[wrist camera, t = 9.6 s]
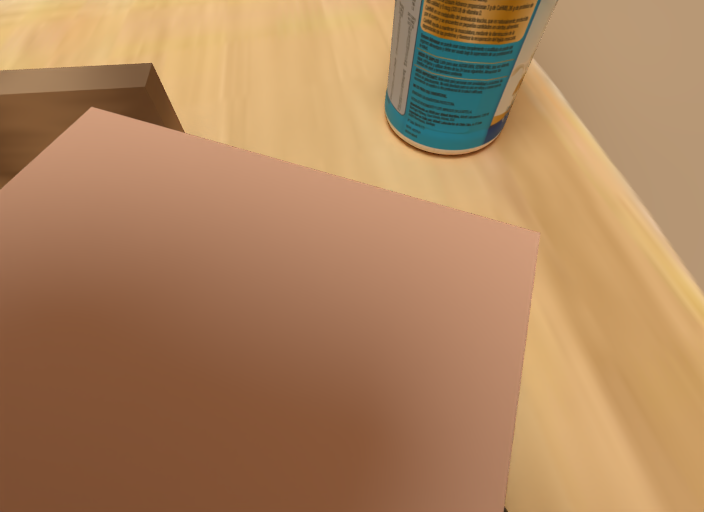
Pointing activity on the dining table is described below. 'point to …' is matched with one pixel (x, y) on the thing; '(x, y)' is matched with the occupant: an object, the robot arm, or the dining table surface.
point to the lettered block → (249, 334)
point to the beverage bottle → (459, 68)
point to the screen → (72, 105)
